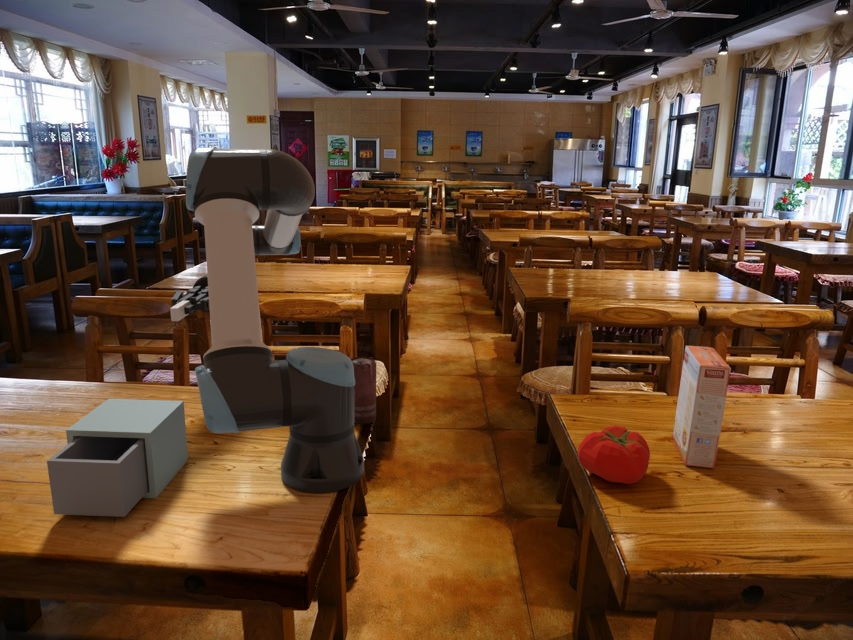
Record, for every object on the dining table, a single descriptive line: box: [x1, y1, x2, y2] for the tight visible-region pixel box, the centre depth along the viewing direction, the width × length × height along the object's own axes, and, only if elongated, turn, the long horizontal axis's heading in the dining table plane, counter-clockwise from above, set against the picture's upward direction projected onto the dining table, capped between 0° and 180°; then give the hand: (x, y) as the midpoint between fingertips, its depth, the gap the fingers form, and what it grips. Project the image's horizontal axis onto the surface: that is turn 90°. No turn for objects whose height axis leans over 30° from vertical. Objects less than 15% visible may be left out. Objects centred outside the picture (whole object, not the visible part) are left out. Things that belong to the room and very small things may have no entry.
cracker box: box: [672, 345, 732, 469], centre depth 127 cm, size 14×6×21 cm, turn 168°
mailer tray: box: [46, 436, 149, 518], centre depth 110 cm, size 24×11×9 cm, turn 179°
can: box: [350, 356, 377, 426], centre depth 139 cm, size 6×6×14 cm
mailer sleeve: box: [65, 398, 189, 499], centre depth 113 cm, size 14×14×12 cm
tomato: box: [577, 425, 651, 485], centre depth 117 cm, size 14×13×9 cm
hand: (174, 314), depth 129 cm, fingers closed
